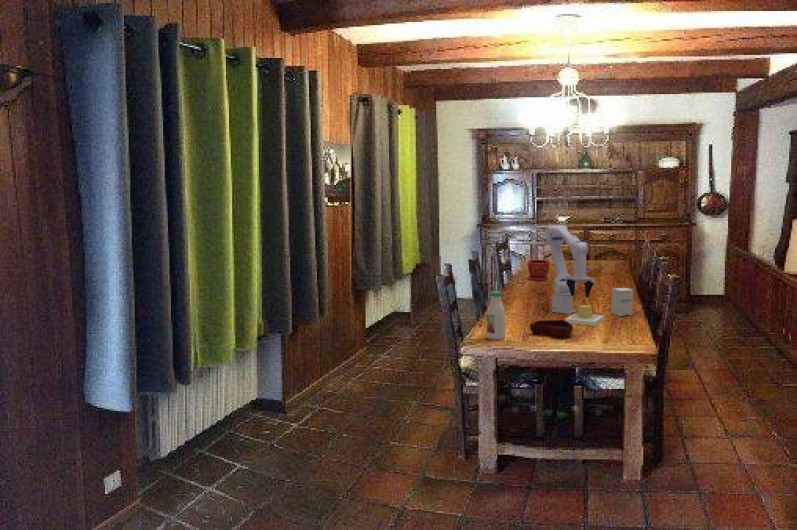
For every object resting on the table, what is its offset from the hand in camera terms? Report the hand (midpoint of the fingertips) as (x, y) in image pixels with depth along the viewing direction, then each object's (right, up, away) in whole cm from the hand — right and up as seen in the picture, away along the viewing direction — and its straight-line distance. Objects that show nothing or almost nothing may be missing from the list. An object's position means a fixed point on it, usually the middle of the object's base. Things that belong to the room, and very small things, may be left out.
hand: (579, 296), depth 340 cm
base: (+1, -11, -6) cm, 13 cm away
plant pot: (+3, +5, +114) cm, 114 cm away
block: (+1, -9, -7) cm, 11 cm away
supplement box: (+22, -9, +6) cm, 25 cm away
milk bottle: (-44, -17, -33) cm, 58 cm away
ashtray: (-18, -15, -28) cm, 37 cm away
